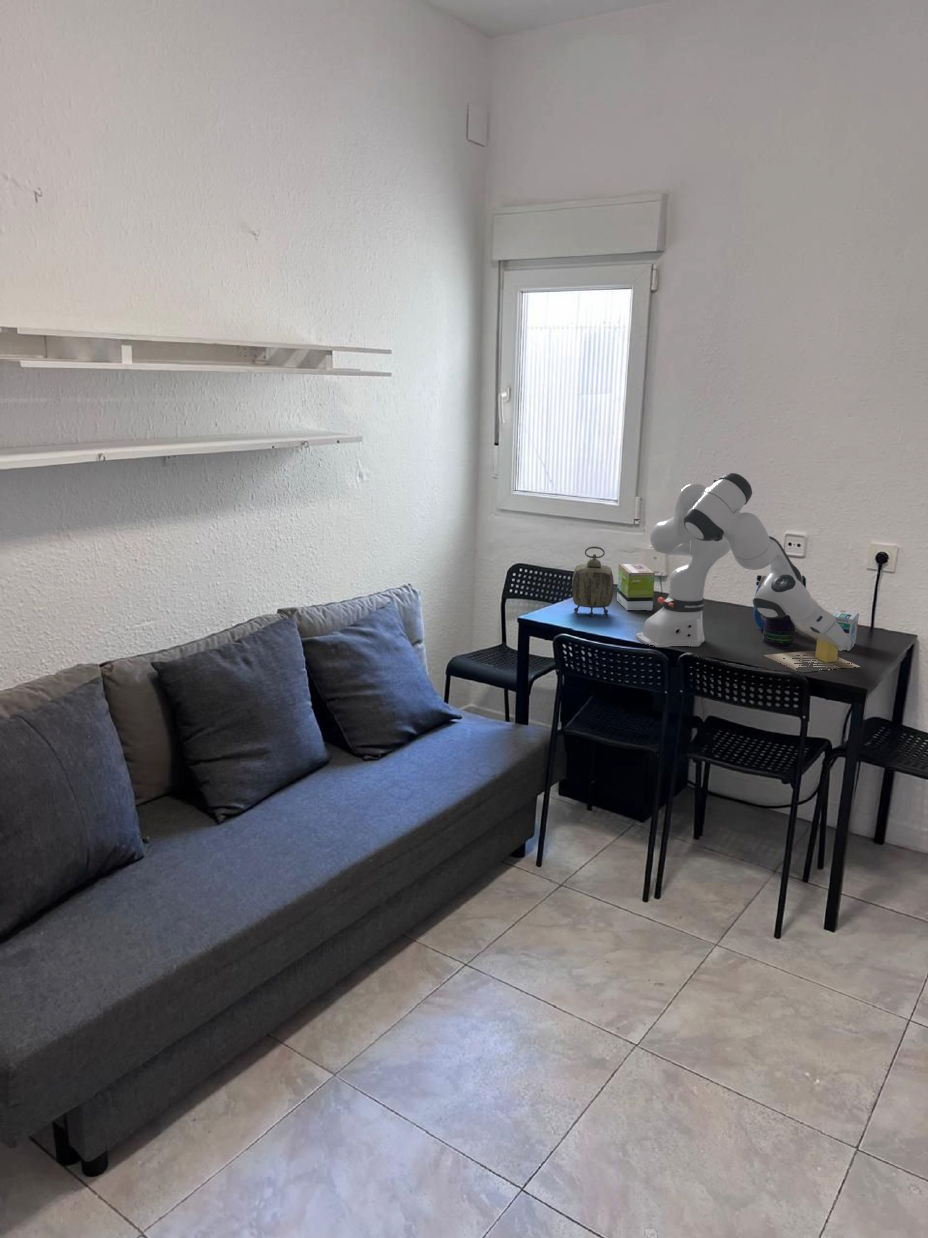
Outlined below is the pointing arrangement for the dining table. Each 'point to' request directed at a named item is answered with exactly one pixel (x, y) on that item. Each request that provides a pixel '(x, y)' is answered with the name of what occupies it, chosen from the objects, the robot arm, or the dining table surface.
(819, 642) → the yellow rectangular block
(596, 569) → the tabletop clock
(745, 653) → the dining table surface
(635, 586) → the tea box
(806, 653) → the plywood sheet
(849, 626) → the light bulb box
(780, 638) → the storage jar
